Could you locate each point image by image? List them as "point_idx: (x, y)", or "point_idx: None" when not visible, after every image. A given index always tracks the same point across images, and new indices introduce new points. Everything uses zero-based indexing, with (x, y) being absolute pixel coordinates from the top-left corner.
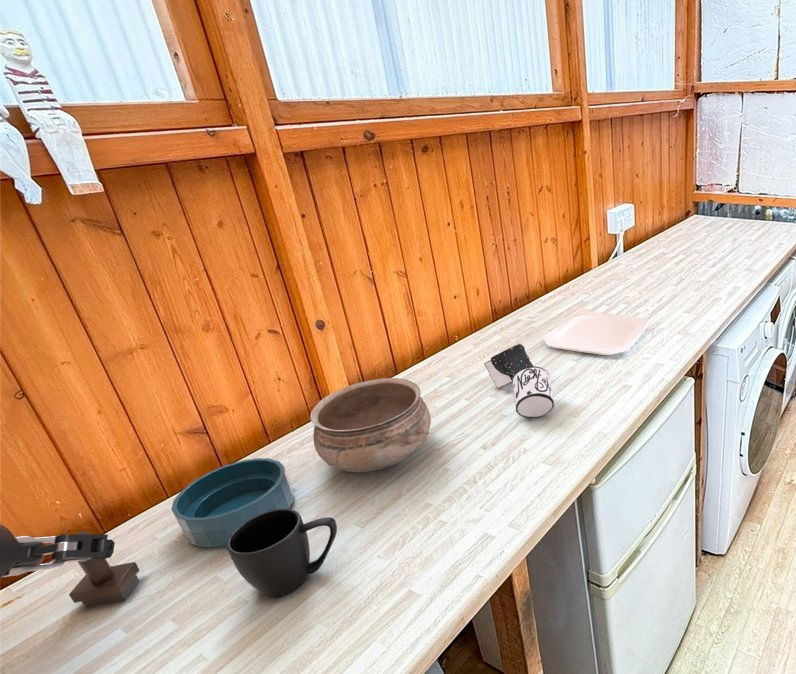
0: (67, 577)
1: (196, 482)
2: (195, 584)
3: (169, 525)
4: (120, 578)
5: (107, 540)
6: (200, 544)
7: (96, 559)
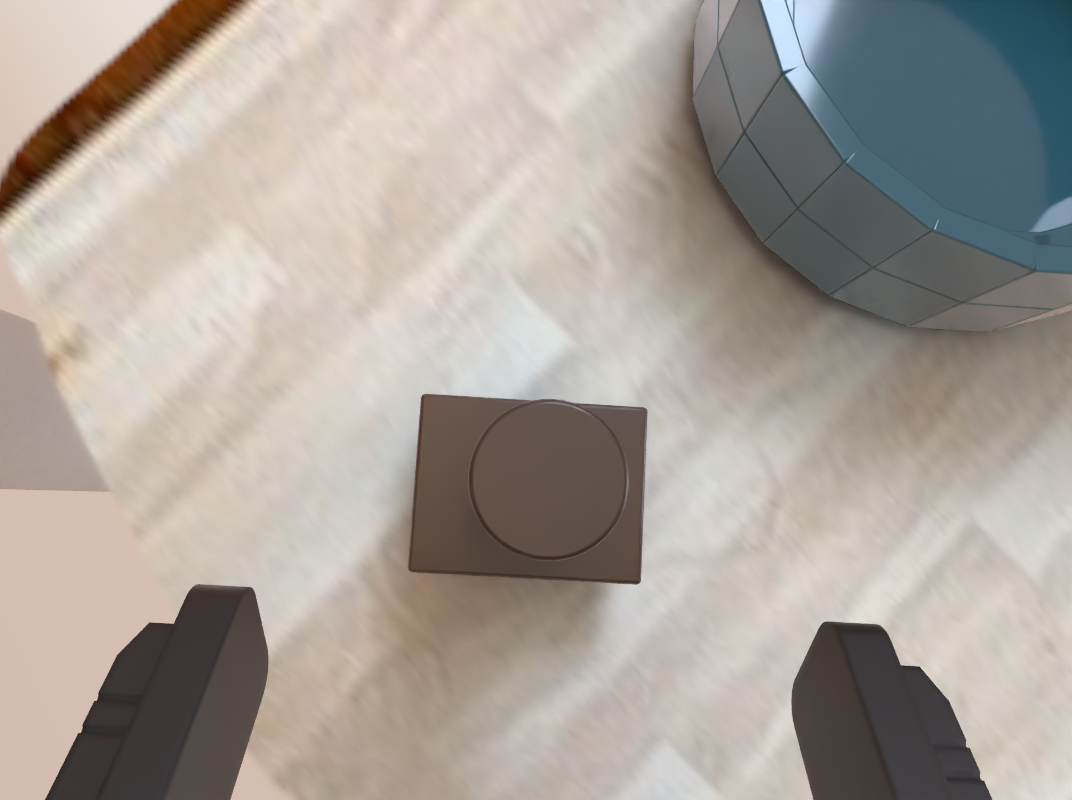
0: (235, 280)
1: None
2: (896, 555)
3: (566, 38)
4: (635, 533)
5: (905, 685)
6: (853, 299)
7: (811, 786)
